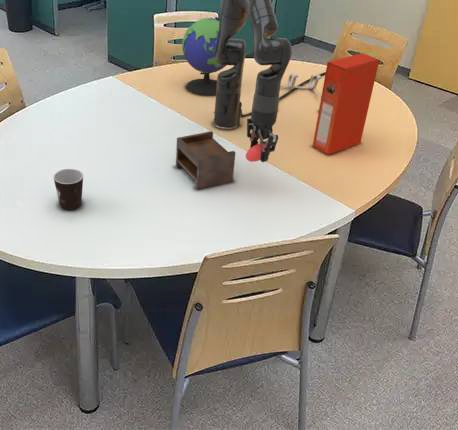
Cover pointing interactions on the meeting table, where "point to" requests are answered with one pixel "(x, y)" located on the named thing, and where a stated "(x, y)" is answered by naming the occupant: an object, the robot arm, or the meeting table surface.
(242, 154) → the meeting table surface
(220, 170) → the rack
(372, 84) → the file binder
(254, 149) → the red rounded oblong piece
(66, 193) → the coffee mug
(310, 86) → the over door rack
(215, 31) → the globe
